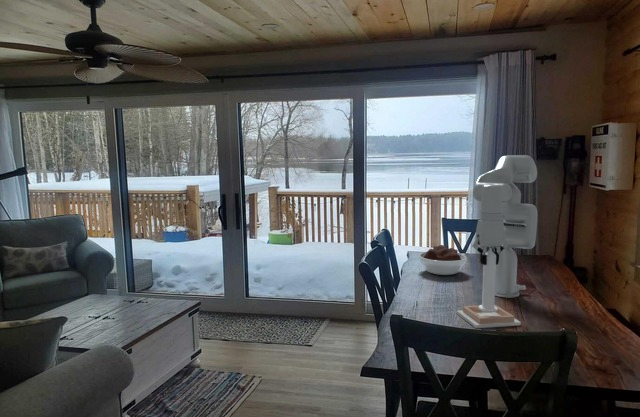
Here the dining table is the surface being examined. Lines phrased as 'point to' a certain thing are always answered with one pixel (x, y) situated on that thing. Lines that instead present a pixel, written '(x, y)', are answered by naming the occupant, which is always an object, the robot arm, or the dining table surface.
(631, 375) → the dining table surface
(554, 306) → the dining table surface
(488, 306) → the candle
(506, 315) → the tray
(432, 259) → the white bowl with food
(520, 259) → the dining table surface
